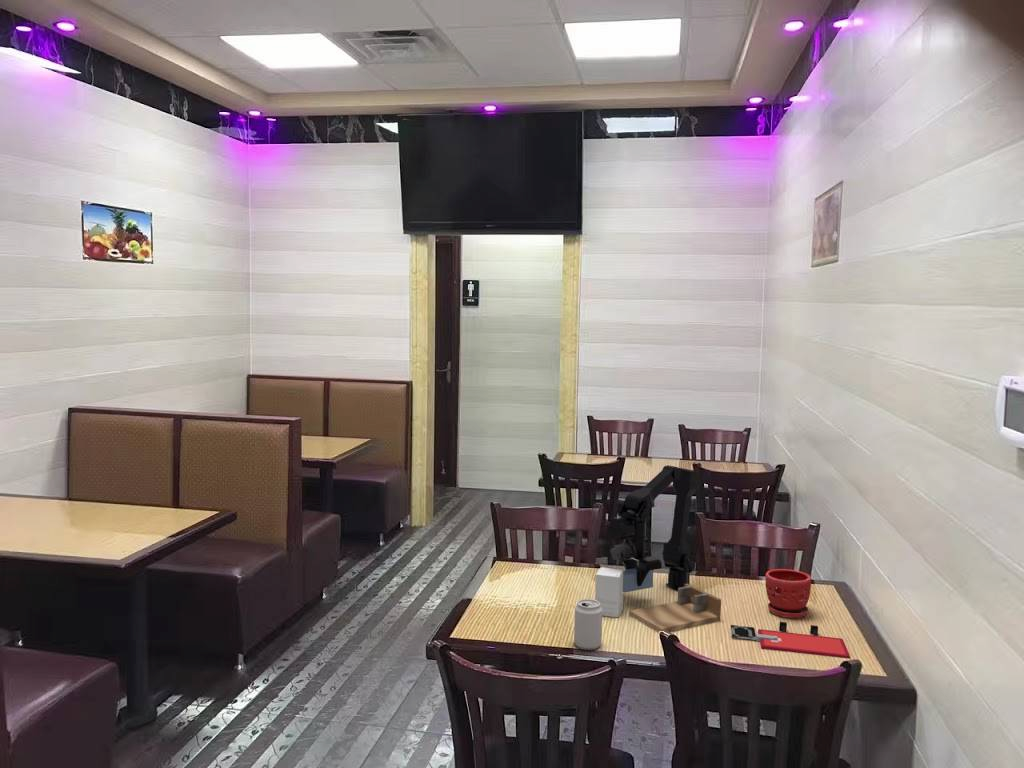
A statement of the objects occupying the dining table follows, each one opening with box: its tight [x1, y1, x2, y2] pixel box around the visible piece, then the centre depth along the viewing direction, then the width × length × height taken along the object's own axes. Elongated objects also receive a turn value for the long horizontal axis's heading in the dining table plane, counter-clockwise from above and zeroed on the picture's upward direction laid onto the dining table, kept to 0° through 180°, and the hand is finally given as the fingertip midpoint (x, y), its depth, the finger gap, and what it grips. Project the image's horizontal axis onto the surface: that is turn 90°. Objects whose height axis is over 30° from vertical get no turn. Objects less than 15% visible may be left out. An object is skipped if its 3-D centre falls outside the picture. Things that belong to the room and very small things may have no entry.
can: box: [573, 598, 603, 651], centre depth 210 cm, size 8×8×12 cm
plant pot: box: [765, 568, 812, 619], centre depth 236 cm, size 13×13×12 cm
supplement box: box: [594, 566, 624, 618], centre depth 234 cm, size 7×7×13 cm
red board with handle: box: [730, 621, 851, 659], centre depth 216 cm, size 30×3×15 cm
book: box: [622, 568, 654, 594], centre depth 242 cm, size 11×4×6 cm, turn 118°
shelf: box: [629, 583, 722, 633], centre depth 231 cm, size 22×15×6 cm
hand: (634, 583), depth 242 cm, fingers closed on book, 4 cm apart
